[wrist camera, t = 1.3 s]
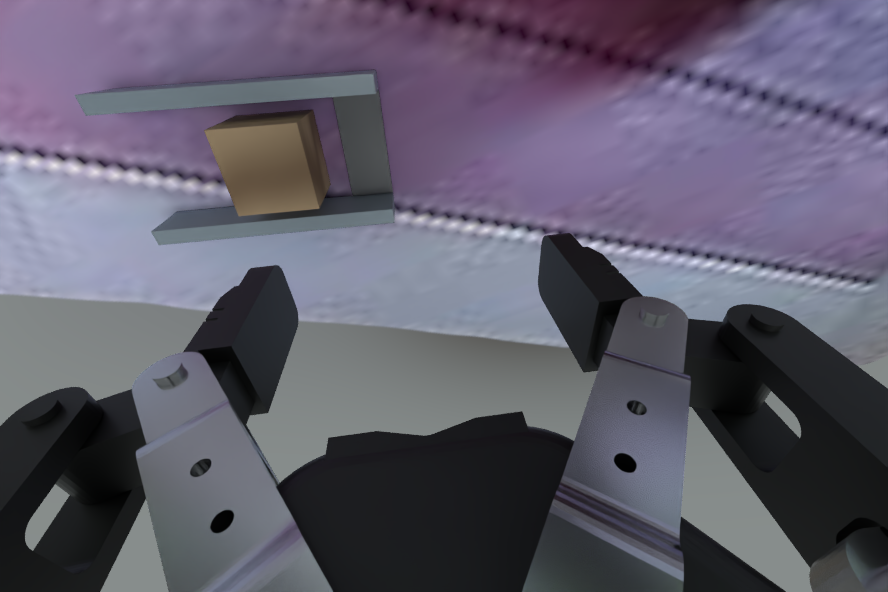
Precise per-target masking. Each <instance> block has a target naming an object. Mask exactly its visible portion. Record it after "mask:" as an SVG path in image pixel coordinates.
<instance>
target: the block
mask: <svg viewBox="0 0 888 592" xmlns="http://www.w3.org/2000/svg"><path fill="white" fill-rule="evenodd" d="M204 131H205V134H206V136H207V139H208V141H209V144H210V146H211V149H212V151H213V154H214V156H215V159H216V161H217V164H218V166H219V169H220V171H221V174H222V176H223V179H224V181H225V183H226V186H227V188H228V191H229V193H230V196H231V198H232V201H233V203H234V206H235V208H236V211H237V213H238V216H247V215H258V214H268V213H279V212H290V211H300V210H311V209H319V208H320V206H321V204H322V202H323V200H324V198H325V195H326V193H327V191H328V189H329V187H330V179H329V175H328V171H327V167H326V163H325V158H324V154H323V150H322V146H321V141H320V137H319V133H318V129H317V125H316V120H315V116H314V112H313V110H303V111H290V112H277V113H265V114H252V115H239V116H234V117H232V118H230V119H228V120H226V121H224V122H221V123H219V124H217V125H215V126H213V127H210V128H208V129H206V130H204Z"/></svg>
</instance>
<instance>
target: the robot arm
mask: <svg viewBox="0 0 888 592" xmlns="http://www.w3.org/2000/svg"><path fill="white" fill-rule="evenodd" d="M538 287H539V292H540V296H541V298H542V300H543V302H544V304H545V305H546V307H547V309H548V311H549V312H550V314H551V316H552V318H553V319H554V321H555V323H556V325H557V326H558V328H559V330H560V332H561V334H562V335H563V337H564V339H565V341H566V342H567V344H568V346H569V348H570V349H571V351H572V353H573V355H574V356H575V358H576V359H577V361H578V363H579V365H580V367H581V369H582V371H583V372H591V371H598V372H597V375H596V379H595V382H594V384H593V387H592V390H591V393H590V396H589V399H588V402H587V406H586V408H585V411H584V414H583V417H582V420H581V423H580V426H579V429H578V432H577V435H576V438H575V441H573V440H571V439H569V438H567V437H565V436H563V435H560V434H558V433H555V432H552V431H549V430H545V429H541V428H536V427H529V426H527V424H526V421H525V418H524V415H523V413H522V412H515V413H507V414H501V415H493V416H485V417H478V418H474V419H471V420H469V421H466V422H463V423H461V424H458V425H456V426H453V427H450V428H448V429H445V430H442V431H440V432H437V433H435V434H432V435H427V436H421V435H420V436H419V435H410V434H399V433H390V432H379V431H375V432H368V433H360V434H354V435H346V436H338V437H331V438H328V444H327V450H326V455H323V456H321V457H318V458H316V459H314V460H312V461H310V462H308V463H307V464H305V465H303V466H302V467H300V468H299V469H297V470H296V471H294V472H293V473H292V474H290V475H289V476H288V477H286V478H285V479H284V480H283V481H282V482H281V483H280V482H279V480H278V479H277V477H276V475H275V473H274V472H273V470H272V468H271V467H270V465H269V463H268V461H267V460H266V458H265V456H264V454H263V453H262V451H261V449H260V448H259V446H258V444H257V442H256V441H255V439H254V437H253V436H252V434H251V432H250V430H249V429H248V427H247V425H246V424H247V421H248V418H249V416H250V415H256V414H263V413H268V411H269V409H270V406H271V403H272V400H273V397H274V394H275V391H276V388H277V386H278V383H279V379H280V377H281V374H282V371H283V368H284V365H285V362H286V359H287V356H288V353H289V351H290V347H291V344H292V342H293V339H294V336H295V333H296V330H297V327H298V312H297V308H296V305H295V302H294V299H293V297H292V294H291V292H290V289H289V286H288V284H287V281H286V278H285V276H284V273H283V271H282V269H281V268H280V267H279V266H278V265H275V266H266V267H257V268H251V269H249V271H248V272H247V274H246V275H245V277H244V278H243V280H242V282H241V283H240V285H239V286H235V287H233V288H232V289H231V290H230V291H228V292H227V293H226V294H224V295H223V296H222V297H221V298H220V299H219V300H218V302H217V303H216V305H215V306H214V308H213V309H212V310H213V312H210V314H209V315H208V316H207V318H206V322H203V324H202V325H201V327H200V328H199V330H198V331H197V333H196V334H195V336H194V337H193V338H192V340H191V342H190V343H189V344H188V346H187V347H186V349H185V350H184V352H182V353H178V354H174V355H171V356H168V357H166V358H163V359H161V360H159V361H157V362H156V363H154V364H152V365H151V366H150V367H148V368H147V369H146V370H144V371H143V372H142V373H141V374H140V375H139V376H138V377H137V379H136V380H135V382H134V384H133V386H132V389H131V390H128V391H125V392H122V393H119V394H116V395H113V396H110V397H107V398H104V399H101V400H98V401H95V400H94V399H93V398H92V396H90V394H89V393H88V392H87V391H86V390H85V389H83V388H79V387H70V388H64V389H60V390H56V391H53V392H51V393H48V394H46V395H43V396H41V397H39V398H37V399H35V400H33V401H32V402H30V403H28V404H27V405H25V406H23V407H22V408H21V409H19V410H18V411H16V412H15V413H14V414H13V415H11V416H10V417H9V418H8V419H7V420H6V421H5V422H4V423H3V424H2V425H1V426H0V592H100V591H101V589H102V587H103V585H104V582H105V580H106V579H107V577H108V574H109V572H110V570H111V568H112V566H113V564H114V562H115V560H116V558H117V556H118V554H119V552H120V550H121V548H122V546H123V544H124V542H125V540H126V538H127V536H128V534H129V532H130V530H131V528H132V526H133V524H134V521H135V520H136V518H137V516H138V513H139V511H140V509H141V507H142V505H143V503H144V501H145V499H146V500H147V504H148V508H149V512H150V516H151V520H152V525H153V529H154V533H155V537H156V541H157V545H158V549H159V553H160V558H161V562H162V566H163V570H164V574H165V578H166V582H167V586H168V590H169V592H786V591H784V590H783V589H781V588H780V587H779V586H777V585H776V584H774V583H773V582H772V581H770V580H769V579H767V578H766V577H765V576H763V575H762V574H760V573H759V572H758V571H756V570H755V569H754V568H752V567H750V566H749V565H748V564H746V563H745V562H743V561H742V560H741V559H740V558H738V557H737V556H735V555H734V554H733V553H731V552H730V551H728V550H727V549H726V548H724V547H723V546H721V545H720V544H719V543H717V542H716V541H714V540H713V539H712V538H710V537H709V536H707V535H706V534H705V533H703V532H702V531H700V530H699V529H698V528H696V527H695V526H694V525H692V524H691V523H689V522H688V521H687V520H685V519H684V518H682V517H681V506H682V493H683V480H684V466H685V453H686V452H685V451H686V438H687V426H688V413H689V407H692V408H693V409H694V411H695V412H696V413H697V415H698V416H699V417H700V419H701V420H702V421H703V423H704V424H705V426H706V427H707V428H708V430H709V431H710V432H711V434H712V435H713V436H714V438H715V439H716V440H717V442H718V443H719V445H720V446H721V447H722V448H723V450H724V451H725V453H726V454H727V455H728V457H729V458H730V459H731V461H732V462H733V463H734V465H735V466H736V468H737V469H738V470H739V472H740V473H741V474H742V476H743V477H744V478H745V480H746V481H747V483H748V484H749V485H750V487H751V488H752V489H753V491H754V492H755V493H756V495H757V496H758V497H759V499H760V500H761V502H762V503H763V504H764V506H765V507H766V508H767V510H768V511H769V512H770V514H771V515H772V517H773V518H774V519H775V521H776V522H777V523H778V525H779V526H780V527H781V529H782V530H783V531H784V533H785V534H786V536H787V537H788V538H789V539H790V541H791V542H792V544H793V545H794V546H795V548H796V549H797V550H798V552H799V553H800V554H801V556H802V557H803V559H804V560H805V561H806V563H807V564H808V565H809V567H810V574H809V577H810V585H811V588H812V591H813V592H888V389H887V388H886V387H885V386H883V385H882V384H880V383H879V382H878V381H877V380H875V379H874V378H873V377H871V376H870V375H869V374H867V373H866V372H865V371H863V370H862V369H861V368H859V367H858V366H857V365H855V364H854V363H853V362H851V361H850V360H849V359H847V358H846V357H845V356H843V355H842V354H841V353H839V352H838V351H837V350H835V349H834V348H833V347H831V346H830V345H829V344H827V343H826V342H825V341H823V340H822V339H821V338H819V337H818V336H817V335H815V334H814V333H813V332H811V331H810V330H809V329H807V328H806V327H805V326H803V325H802V324H801V323H799V322H798V321H797V320H795V319H794V318H792V317H790V316H789V315H787V314H785V313H783V312H780V311H778V310H775V309H772V308H769V307H765V306H760V305H752V304H742V305H736V306H733V307H731V308H730V309H729V310H728V312H727V314H726V316H725V318H724V320H723V322H718V321H706V320H695V319H688V317H687V315H686V314H685V312H684V311H683V310H682V309H680V308H679V307H678V306H676V305H674V304H673V303H670V302H668V301H666V300H663V299H659V298H655V297H647V296H642V295H641V294H640V292H639V291H638V290H637V289H636V288H635V287H634V286H633V285H632V284H631V283H630V282H629V281H628V280H627V279H626V278H625V277H624V276H623V275H622V274H621V273H619V271H618V270H617V269H616V268H615V267H614V266H613V265H611V263H610V262H609V261H608V260H607V258H606V257H605V256H604V255H603V254H601V253H599V252H597V251H595V250H593V249H591V248H589V247H582V246H581V244H580V243H579V242H578V241H577V240H576V239H575V238H574V237H573V236H572V235H571V234H570V233H565V234H556V235H547V236H544V237H543V240H542V245H541V255H540V265H539V276H538ZM771 391H772V392H773V393H774V394H775V395H776V396H777V397H778V398H779V399H780V400H781V401H782V402H783V403H784V404H785V405H786V406H787V407H788V408H789V409H790V410H791V411H792V412H793V413H794V414H795V416H796V417H797V419H798V421H799V423H800V426H801V437H800V438H799V437H798V436H797V435H796V434H795V433H794V432H793V431H792V430H791V429H790V428H789V427H788V426H787V425H786V424H785V422H783V420H782V419H781V418H780V417H779V416H778V415H777V414H776V413H775V412H774V411H773V410H772V409H771V408H770V407H769V406H768V405H767V403H765V399H766V398H767V396H768V395H769V393H770V392H771ZM55 484H56V485H58V486H59V487H60V488H62V489H63V490H64V491H65V492H67V493H68V494H69V495H70V496H69V497H68V499H67V500H66V502H65V503H64V505H63V506H62V508H61V510H60V511H59V513H58V514H57V516H56V517H55V519H54V520H53V522H52V523H51V525H50V526H49V528H48V529H47V531H46V532H45V534H44V535H43V537H42V538H41V540H40V541H39V543H38V544H37V546H36V547H35V549H34V550H33V551H32V550H31V549H29V548H28V546H27V545H26V542H25V531H26V527H27V524H28V522H29V520H30V519H31V517H32V516H33V514H34V513H35V511H36V510H37V509H38V507H39V506H40V504H41V503H42V502H43V500H44V499H45V497H46V496H47V494H48V493H49V492H50V490H51V489H52V488H53V486H54V485H55Z"/></svg>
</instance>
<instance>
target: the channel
mask: <svg viewBox="0 0 888 592" xmlns="http://www.w3.org/2000/svg"><path fill="white" fill-rule="evenodd" d="M75 97H76V99H77V100H78V102H79V104H80V106H81V108H82V109H83V111H84V113H85V115H86V116H88V115H101V114H114V113H127V112H141V111H154V110H167V109H181V108H194V107H207V106H220V105H234V104H247V103H260V102H273V101H287V100H300V99H313V98H326V97H333V101H334V106H335V111H336V116H337V121H338V126H339V131H340V135H341V140H342V145H343V150H344V155H345V160H346V165H347V170H348V175H349V180H350V185H351V189H352V194H353V196H345V197H334V198H324V200H323V202H322V204H321V206H320V208H319V209H311V210H300V211H290V212H279V213H268V214H258V215H247V216H238V213H237V211H236V208H235V206H234V207H223V208H212V209H201V210H190V211H179V212H176V213H175V214H173V215H172V216H171V217H170V218H168V219H167V220H166V221H164V222H163V223H162V224H160V225H159V226H158V227H157V228H155V229H154V230H153V231H151V232H152V234H153V236H154V238H155V239H156V241H157V243H158V245H166V244H177V243H187V242H198V241H208V240H218V239H229V238H239V237H250V236H260V235H271V234H281V233H292V232H302V231H313V230H323V229H334V228H344V227H355V226H365V225H376V224H386V223H394V214H395V204H394V197H393V190H392V182H391V175H390V168H389V161H388V153H387V146H386V139H385V132H384V125H383V117H382V110H381V103H380V96H379V89H378V81H377V74H376V70H365V71H351V72H337V73H324V74H310V75H296V76H282V77H268V78H254V79H240V80H226V81H212V82H198V83H184V84H170V85H156V86H142V87H128V88H115V89H109V90H103V91H97V92H91V93H85V94H79V95H75Z"/></svg>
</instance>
